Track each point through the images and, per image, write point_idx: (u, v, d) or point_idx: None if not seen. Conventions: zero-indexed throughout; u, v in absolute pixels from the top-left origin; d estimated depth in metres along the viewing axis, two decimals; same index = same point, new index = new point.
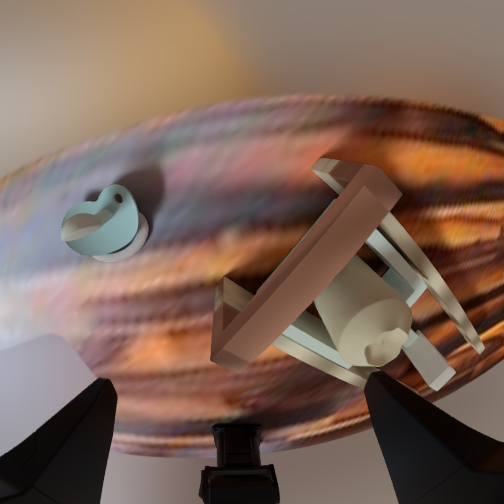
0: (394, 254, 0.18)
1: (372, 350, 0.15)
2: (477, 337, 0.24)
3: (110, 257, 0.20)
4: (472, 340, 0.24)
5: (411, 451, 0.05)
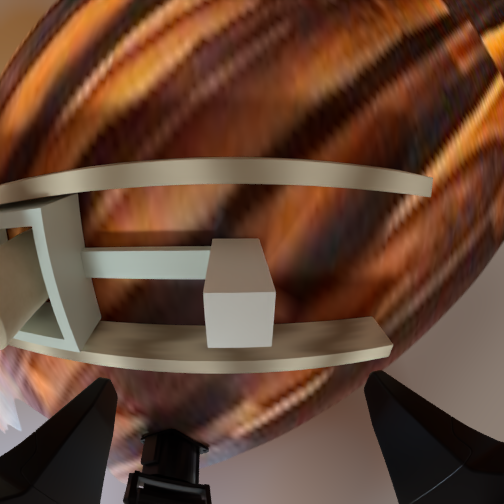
0: None
1: None
2: (359, 170, 0.13)
3: None
4: (346, 184, 0.13)
5: (411, 451, 0.05)
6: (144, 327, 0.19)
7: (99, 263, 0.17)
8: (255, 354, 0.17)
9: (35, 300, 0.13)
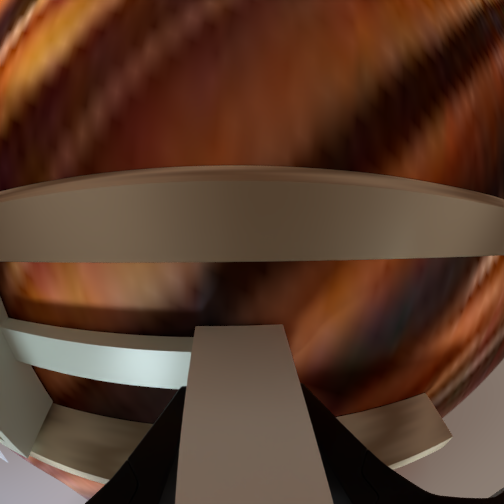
0: None
1: None
2: None
3: None
4: (486, 248, 0.04)
5: None
6: (108, 424, 0.11)
7: (25, 348, 0.08)
8: None
9: None
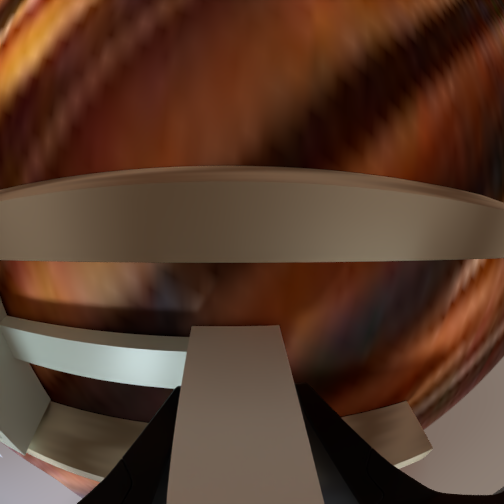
0: None
1: None
2: (476, 214, 0.04)
3: None
4: (448, 251, 0.04)
5: (322, 478, 0.05)
6: (84, 418, 0.11)
7: (24, 345, 0.08)
8: None
9: None
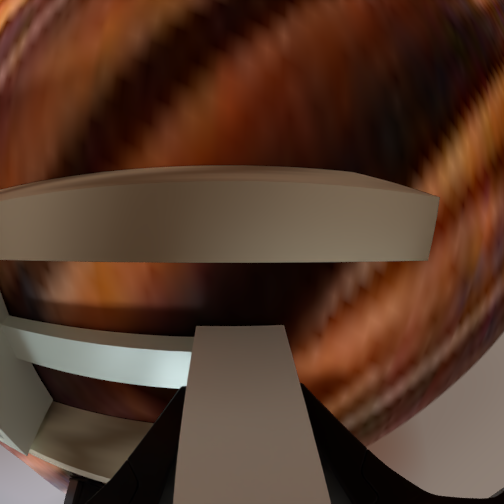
0: None
1: None
2: (114, 200, 0.04)
3: None
4: (85, 251, 0.04)
5: None
6: None
7: (26, 345, 0.08)
8: (98, 465, 0.08)
9: None
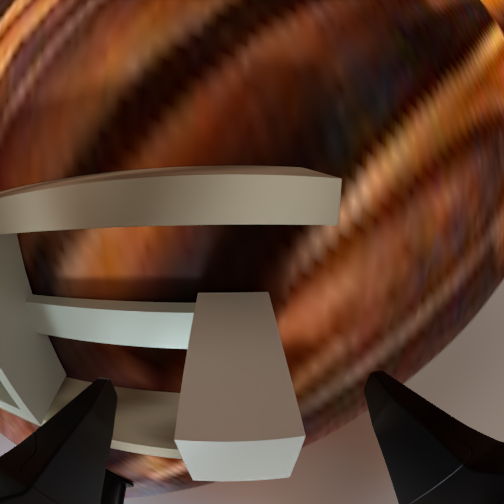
0: None
1: None
2: (123, 188, 0.06)
3: None
4: (103, 221, 0.06)
5: (411, 451, 0.05)
6: None
7: (48, 319, 0.11)
8: None
9: None
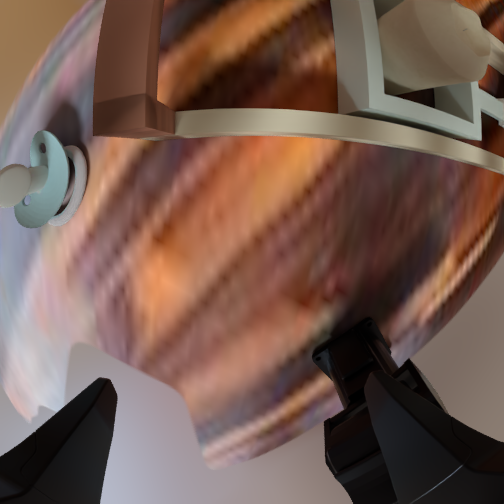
0: None
1: (466, 43, 0.06)
2: None
3: (68, 210, 0.16)
4: None
5: (411, 451, 0.05)
6: None
7: None
8: None
9: None
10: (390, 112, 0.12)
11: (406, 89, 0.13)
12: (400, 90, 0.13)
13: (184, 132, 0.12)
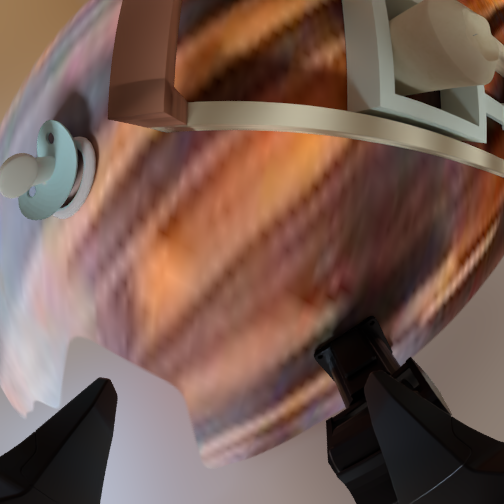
0: None
1: (476, 47, 0.06)
2: None
3: (74, 203, 0.16)
4: None
5: (411, 451, 0.05)
6: None
7: None
8: None
9: None
10: (400, 112, 0.12)
11: (415, 90, 0.13)
12: (409, 91, 0.13)
13: (196, 123, 0.12)
